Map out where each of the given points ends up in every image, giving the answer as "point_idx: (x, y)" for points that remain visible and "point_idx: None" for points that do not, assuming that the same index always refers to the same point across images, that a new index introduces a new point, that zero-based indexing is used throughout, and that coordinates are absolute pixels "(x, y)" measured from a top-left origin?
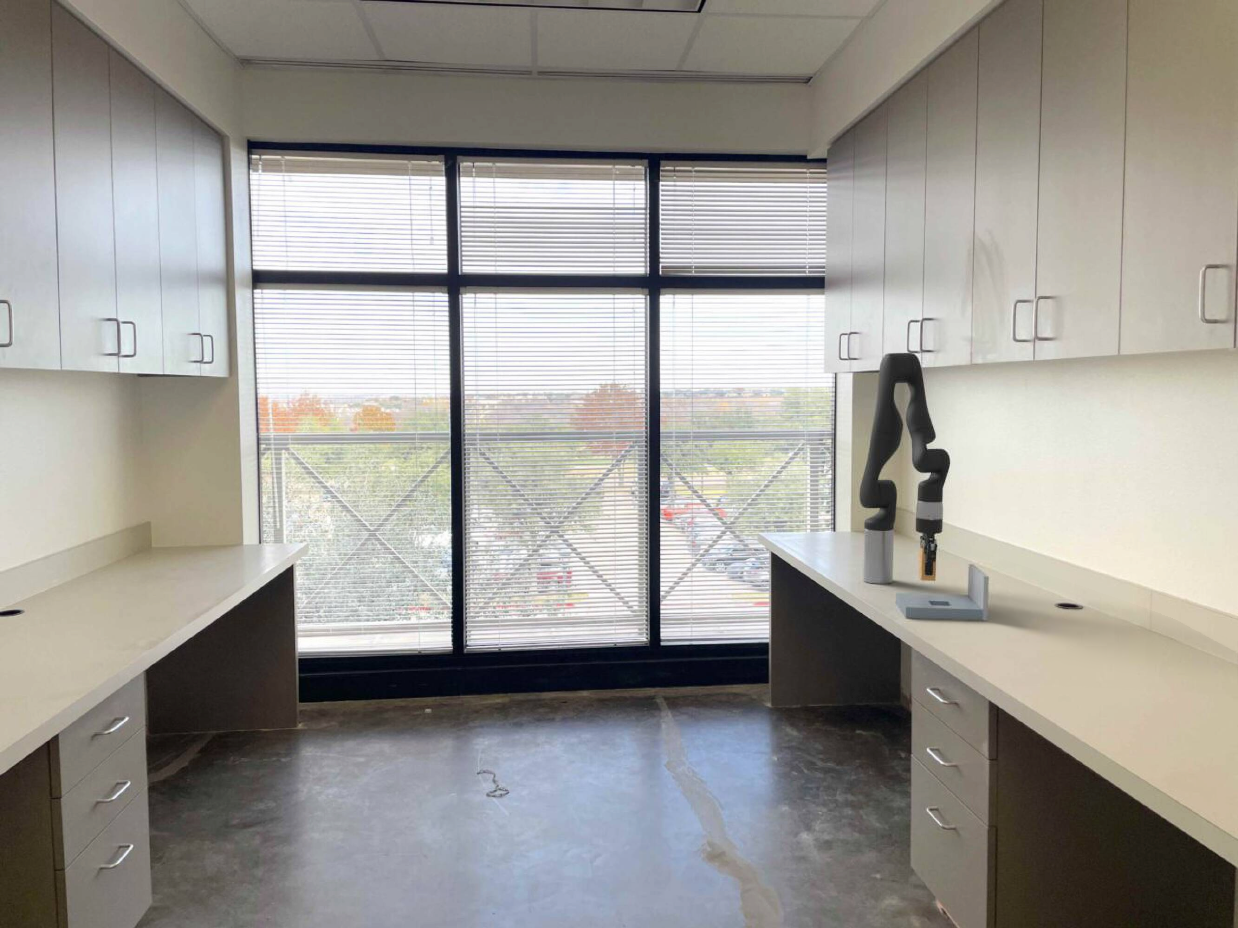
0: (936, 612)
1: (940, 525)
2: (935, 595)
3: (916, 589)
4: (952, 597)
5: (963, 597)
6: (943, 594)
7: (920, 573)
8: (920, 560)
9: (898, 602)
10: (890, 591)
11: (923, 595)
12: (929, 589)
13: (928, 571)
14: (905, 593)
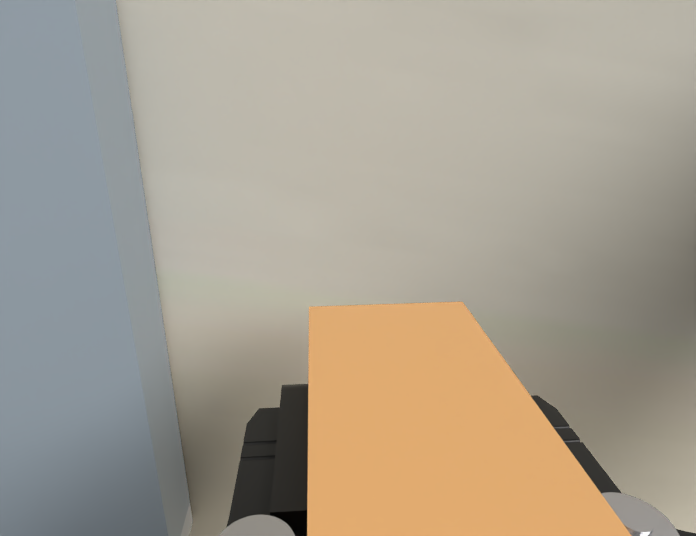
0: None
1: None
2: (73, 356)
3: (682, 260)
4: (37, 467)
5: (66, 533)
6: (140, 419)
7: (386, 336)
8: (469, 456)
9: None
10: (633, 33)
11: (31, 254)
12: (671, 344)
13: (246, 445)
14: (72, 82)
